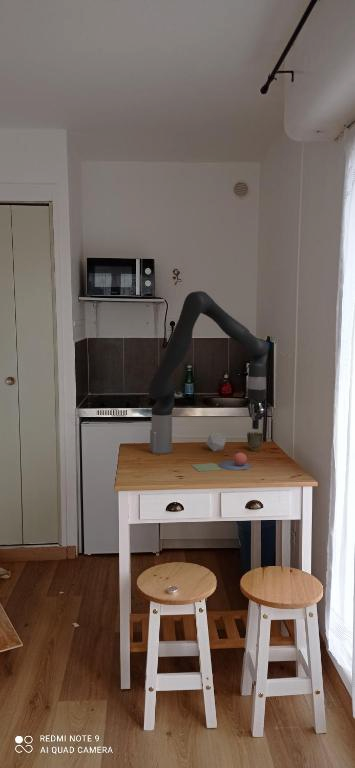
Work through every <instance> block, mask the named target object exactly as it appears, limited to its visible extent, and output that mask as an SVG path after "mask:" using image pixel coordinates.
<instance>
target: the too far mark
mask: <svg viewBox="0 0 355 768" xmlns="http://www.w3.org/2000/svg"><path fill="white" fill-rule="evenodd" d="M191 466H192V467H193V468H194V469H195V470H196V471H198V472H201V473H202V472H213V471H223V469H224V468H221V467H219V466H218V464H216V463H214V462H210V463H197V464H191Z"/></svg>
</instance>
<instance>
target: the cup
mask: <svg viewBox="0 0 355 768" xmlns="http://www.w3.org/2000/svg"><path fill="white" fill-rule="evenodd" d="M246 438H247V444H248V446H249V447H250V450H251V451H252V452H258V451H259V449H260V447H261V446H262V444H263V440H264V433H263V432H258V431H254V432H253V431H252V432H250V431H248V432H246Z"/></svg>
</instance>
